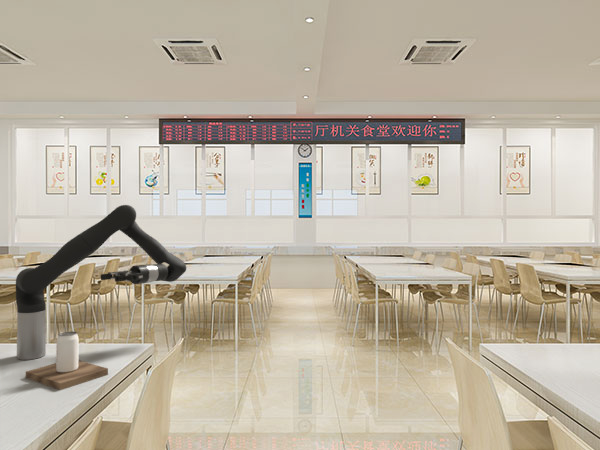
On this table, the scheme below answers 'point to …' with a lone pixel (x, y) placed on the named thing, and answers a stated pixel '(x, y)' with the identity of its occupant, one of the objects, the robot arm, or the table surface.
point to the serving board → (66, 375)
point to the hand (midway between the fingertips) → (108, 278)
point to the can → (67, 352)
